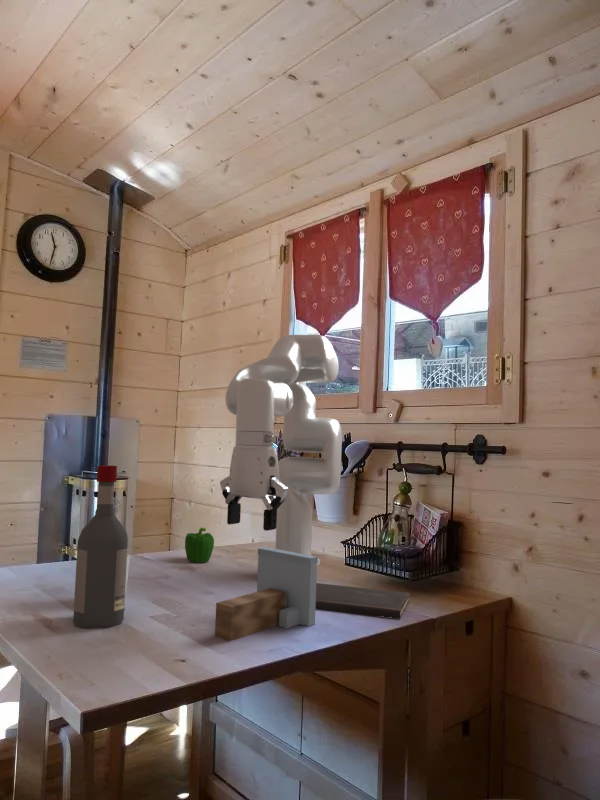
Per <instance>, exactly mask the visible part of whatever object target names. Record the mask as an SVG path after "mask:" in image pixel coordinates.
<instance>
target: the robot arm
mask: <svg viewBox="0 0 600 800" xmlns="http://www.w3.org/2000/svg"><path fill="white" fill-rule="evenodd" d="M339 368H340V367H339V359H338V356H337V352H336V351H335V349H334V346H333V344H332V343H331V341H330V340H329V339H328V338H327V337H326V336H324V335H321V334H288V335H283V336H282V337H280V338H279V339H277V341H275V344H274V346H273V347H272V349H271V350H270V353H269V354H268V355H267V357H265V358H262V359H260V360H258V361H256V362H252V363H251V364H248V365H246V366H244V367H242V368H241V369H239V370H238V371H237V372H235V374H234V376H233V378H232V379H231V380H230V382H229V384H228V386H227V389H226V392H225V404H226V405H225V406H226V407H227V410H228V411H229V412H230V413H231V414H232V415H235V416H236V417H235V418H236V422H235V445H234V446H233V449H232V453H231V458H230V464H229V465H230V467H229V475H228V476H226V477H225V478H224V479H221V480H220V481H219V484H220V488H221V492H222V493H221V494H222V496H223V497H224V499H225V504H226V505H227V517H226V518H227V519H226V523H227V524H228V525H236V524H239V523H241V514H242V513H241V510H242V506H241V505H242V504H241V502H240V500H241V499H243V498H249V499H256V500H257V499H258V500H262V503H263V504H264V507H265V508H266V509H264V510H263V524H262V525H263V531H265V532H266V531H273V530H275V548H274V549H279V550H284V551H290V552H295V553H300V554H306V555H311V556H312V540H313V539H312V535H313V508H312V505H311V504H310V502H309V501H308V499H307V498H306V497H305V494H309V495H333V494H336V493H337V492H338V490H339V488H340V485H341V474H342V473H341V471H342V469H341V468H342V450H343V449H342V448H343V447H342V445H343V432H342V431H343V430H342V426H341V424H340V422H339V421H338V420H337V419H335V418H331V417H317V416H316V407H317V400H316V397H315V395H314V394H313V392H312V391H311V389H310V388H309V387H308V385H307V384H305V383H309V384H310V383H313V384H314V383H316V384H317V383H319V384H320V383H321V384H325V383H326V384H327V383H328V384H329V383H332V382H335V380H336V379H337V377H338V374H339ZM278 417H283V427H282V443H283V446H284V448H285V449H286V450H288V451H290V452H294V453H295V452H298V453H311V454H312V453H314V454H322V455H323V457H309V456H307V457H306V456H287V457H283V458H281V459H279V458H278V452H277V448H274V443H276V442H277V436H275V435H274V431H275V430H274V427H275V426H274V424H275V423H274V421H275V418H278ZM242 497H243V498H242ZM320 564H321V560H320V558H318V563H317V566H319V565H320Z"/></svg>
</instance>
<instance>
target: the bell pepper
mask: <svg viewBox="0 0 600 800" xmlns="http://www.w3.org/2000/svg"><path fill="white" fill-rule="evenodd" d="M206 531H207V528H206V527H200V528H199V530H198V532H196V533H193V532H191V533H190V532H189V533H187V534H186V536H185V539H184V540H185V541H184V549H185V554H186V558H187V560H188V562H190V563H201V564H202V563H207V562H208V563H209V560H210V559H211V557H212V554H213V550H214V547H215V539H214V536H213V535H212V533H210V532H206ZM203 532H205V533H203Z"/></svg>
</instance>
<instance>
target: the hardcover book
mask: <svg viewBox="0 0 600 800" xmlns="http://www.w3.org/2000/svg"><path fill="white" fill-rule="evenodd" d="M410 596H411V593H409V592H403V591H393V590H384V589H376V588H366V587H358V586H357V587H355V586H348V585H347V586H346V585H338V584H328V583H320V582H319V583H318V582H316V607H315V610H321V611H327V612H328V611H331V612H338V613H344V614H347V613H348V614H354V615H362V616H368V617H369V616H370V617H376V616H384V617H392V618H391V619H393V618H400V619H401V616H402V614H403V612H404V611H403V609H404V608H406V607H405V606H407V605H406V604H408V603H409V601H408V600H410V599H409V598H410ZM407 602H408V603H407ZM404 610H405V609H404ZM402 611H403V612H402ZM401 613H402V614H401ZM400 615H401V616H400ZM384 617H383V618H384Z"/></svg>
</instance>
